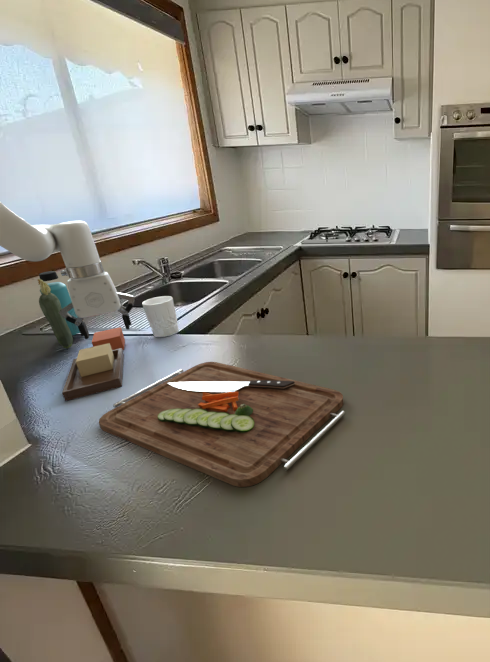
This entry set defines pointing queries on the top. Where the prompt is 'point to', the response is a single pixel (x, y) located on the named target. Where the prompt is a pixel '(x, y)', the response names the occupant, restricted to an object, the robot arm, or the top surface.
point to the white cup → (161, 315)
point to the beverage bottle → (60, 296)
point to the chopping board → (225, 420)
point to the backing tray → (94, 379)
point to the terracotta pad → (109, 338)
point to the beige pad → (95, 359)
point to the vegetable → (54, 315)
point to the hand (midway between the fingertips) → (108, 332)
